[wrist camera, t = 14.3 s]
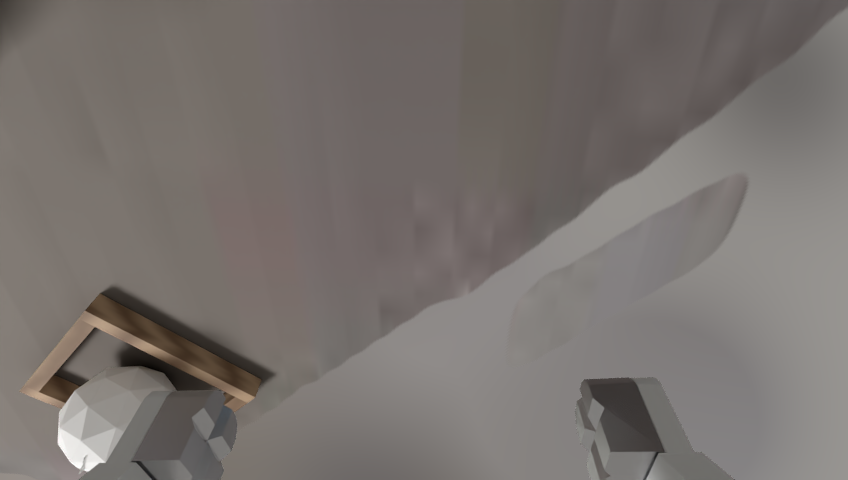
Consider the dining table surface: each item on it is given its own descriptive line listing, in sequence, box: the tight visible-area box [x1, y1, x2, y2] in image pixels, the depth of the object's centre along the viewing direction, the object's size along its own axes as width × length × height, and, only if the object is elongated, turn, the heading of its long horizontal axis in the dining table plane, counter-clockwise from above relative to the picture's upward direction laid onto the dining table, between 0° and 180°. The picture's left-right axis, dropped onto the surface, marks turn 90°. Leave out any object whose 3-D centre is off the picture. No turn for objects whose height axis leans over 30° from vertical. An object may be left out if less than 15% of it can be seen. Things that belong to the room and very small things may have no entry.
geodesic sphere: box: [58, 366, 177, 474], centre depth 61 cm, size 15×14×14 cm
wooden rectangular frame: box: [19, 294, 261, 412], centre depth 65 cm, size 24×24×3 cm
